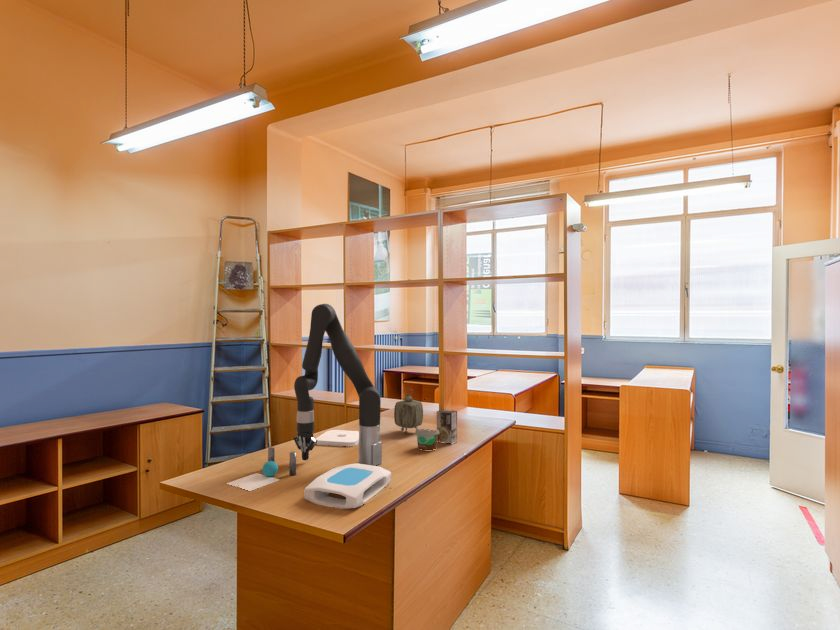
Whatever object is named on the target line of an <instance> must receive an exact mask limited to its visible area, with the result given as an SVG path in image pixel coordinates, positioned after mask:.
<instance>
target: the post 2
mask: <svg viewBox="0 0 840 630" xmlns="http://www.w3.org/2000/svg"><path fill="white" fill-rule="evenodd" d="M288 470H289V471H288V472H289V476H290V477H293V476H294V477H295V476H297V451H290V452H289V469H288Z"/></svg>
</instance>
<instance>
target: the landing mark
mask: <svg viewBox="0 0 840 630" xmlns="http://www.w3.org/2000/svg"><path fill="white" fill-rule="evenodd" d="M278 481H280V479H279V478H276V477H274V476H271V477H268V476H265V475H264V474H261V473H258V472H256V473H255V472H254V473H252V474H250V475H246V476H244V477H240V478H238V479H235V480H232V481H230V482H227V483H225V484H226V485H228V484H229V485H228V486H231V485H232V486H231V487H234V486H235V487H234V488H237V487H236V486H238V485H239V486H238V487H240V488H242V489H241V490H243V489H245V490H244V491H246V490H248V491H247V492H249V491H250V492H253V491H256V490H257V488H258V489H261V488H263V487H265V486H268V485H271V484H275V483H276V482H278ZM240 488H239V489H240ZM252 490H253V491H252Z"/></svg>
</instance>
